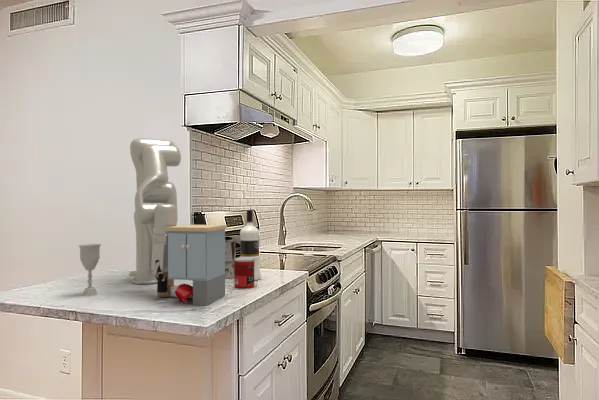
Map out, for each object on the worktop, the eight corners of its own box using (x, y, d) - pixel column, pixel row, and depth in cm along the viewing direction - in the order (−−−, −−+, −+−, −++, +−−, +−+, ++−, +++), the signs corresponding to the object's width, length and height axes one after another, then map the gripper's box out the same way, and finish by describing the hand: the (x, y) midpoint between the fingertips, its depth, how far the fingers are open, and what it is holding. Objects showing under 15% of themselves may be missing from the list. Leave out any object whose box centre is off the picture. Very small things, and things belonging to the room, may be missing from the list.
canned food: (250, 289, 153) (250, 260, 153) (231, 288, 154) (231, 259, 154) (257, 285, 160) (256, 257, 160) (238, 284, 162) (238, 257, 162)
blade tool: (157, 296, 140) (157, 270, 140) (163, 293, 143) (163, 268, 143) (196, 298, 136) (196, 272, 136) (202, 295, 140) (202, 270, 140)
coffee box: (234, 278, 174) (234, 241, 174) (219, 278, 174) (219, 241, 174) (235, 274, 183) (235, 239, 183) (221, 274, 183) (221, 239, 183)
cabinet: (164, 304, 130) (164, 227, 131) (189, 293, 146) (188, 224, 146) (206, 307, 127) (206, 227, 127) (227, 295, 142) (226, 225, 142)
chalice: (78, 297, 140) (78, 246, 140) (78, 293, 146) (78, 244, 146) (101, 295, 144) (101, 245, 144) (101, 291, 150) (100, 243, 150)
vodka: (240, 277, 176) (240, 209, 176) (261, 277, 176) (261, 209, 177) (237, 281, 167) (237, 210, 167) (259, 281, 167) (259, 210, 167)
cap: (180, 295, 129) (195, 284, 132) (170, 287, 132) (185, 276, 135) (187, 311, 133) (202, 299, 137) (178, 302, 137) (192, 291, 140)
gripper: (168, 236, 150) (168, 285, 150) (141, 241, 134) (141, 295, 134) (187, 237, 148) (187, 286, 148) (161, 241, 132) (161, 297, 132)
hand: (165, 290), depth 141 cm, fingers closed on blade tool, 4 cm apart
